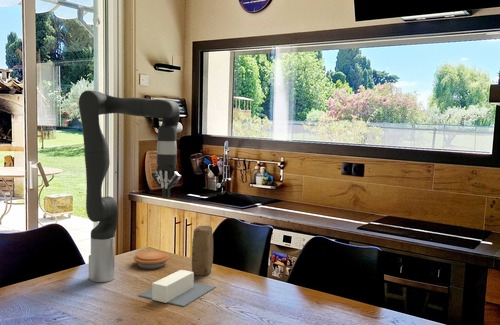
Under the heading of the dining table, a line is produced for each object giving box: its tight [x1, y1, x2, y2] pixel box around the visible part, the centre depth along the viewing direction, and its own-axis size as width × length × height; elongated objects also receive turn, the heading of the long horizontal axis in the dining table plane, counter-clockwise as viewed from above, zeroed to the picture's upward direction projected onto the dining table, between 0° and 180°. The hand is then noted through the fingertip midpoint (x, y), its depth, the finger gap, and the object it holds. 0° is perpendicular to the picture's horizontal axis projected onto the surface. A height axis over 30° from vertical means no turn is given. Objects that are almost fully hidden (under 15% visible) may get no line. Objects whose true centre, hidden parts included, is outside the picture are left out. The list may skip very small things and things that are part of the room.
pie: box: [133, 250, 170, 270], centre depth 205 cm, size 16×16×5 cm
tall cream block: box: [151, 269, 195, 304], centre depth 170 cm, size 6×6×18 cm
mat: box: [137, 281, 217, 308], centre depth 173 cm, size 20×22×1 cm
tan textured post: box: [191, 225, 214, 276], centre depth 196 cm, size 11×8×20 cm
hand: (165, 197), depth 176 cm, fingers closed
